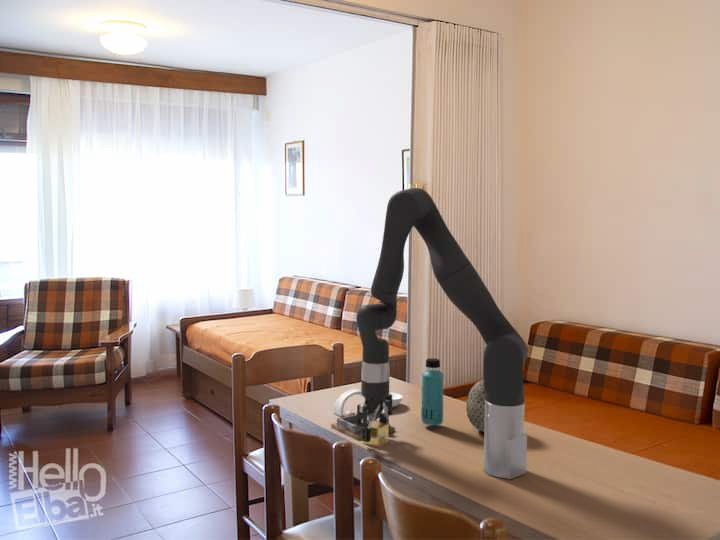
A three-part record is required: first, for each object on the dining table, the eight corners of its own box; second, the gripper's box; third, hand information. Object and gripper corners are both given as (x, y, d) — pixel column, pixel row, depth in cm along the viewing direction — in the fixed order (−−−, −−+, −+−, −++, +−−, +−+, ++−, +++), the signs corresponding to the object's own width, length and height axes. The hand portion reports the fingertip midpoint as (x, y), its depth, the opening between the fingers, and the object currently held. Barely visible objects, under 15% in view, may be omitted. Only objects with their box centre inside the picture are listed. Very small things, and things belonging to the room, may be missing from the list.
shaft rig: (397, 432, 186) (397, 419, 186) (360, 441, 179) (360, 428, 178) (365, 418, 199) (365, 406, 198) (329, 426, 191) (329, 414, 191)
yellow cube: (388, 441, 179) (388, 423, 178) (378, 447, 175) (378, 429, 174) (372, 438, 182) (372, 420, 181) (362, 443, 177) (362, 425, 177)
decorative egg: (470, 438, 181) (471, 385, 180) (462, 425, 193) (463, 374, 191) (512, 438, 181) (514, 385, 180) (502, 424, 193) (503, 374, 192)
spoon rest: (388, 399, 219) (388, 378, 218) (410, 408, 209) (410, 386, 209) (327, 411, 206) (327, 389, 205) (347, 421, 196) (347, 398, 196)
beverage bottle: (443, 423, 194) (444, 356, 192) (443, 431, 187) (444, 361, 185) (420, 422, 194) (421, 356, 193) (420, 430, 188) (421, 361, 186)
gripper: (377, 370, 184) (377, 427, 186) (348, 381, 173) (348, 441, 174) (401, 374, 180) (400, 432, 182) (372, 385, 168) (372, 447, 170)
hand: (374, 436), depth 178 cm, fingers open, 8 cm apart
